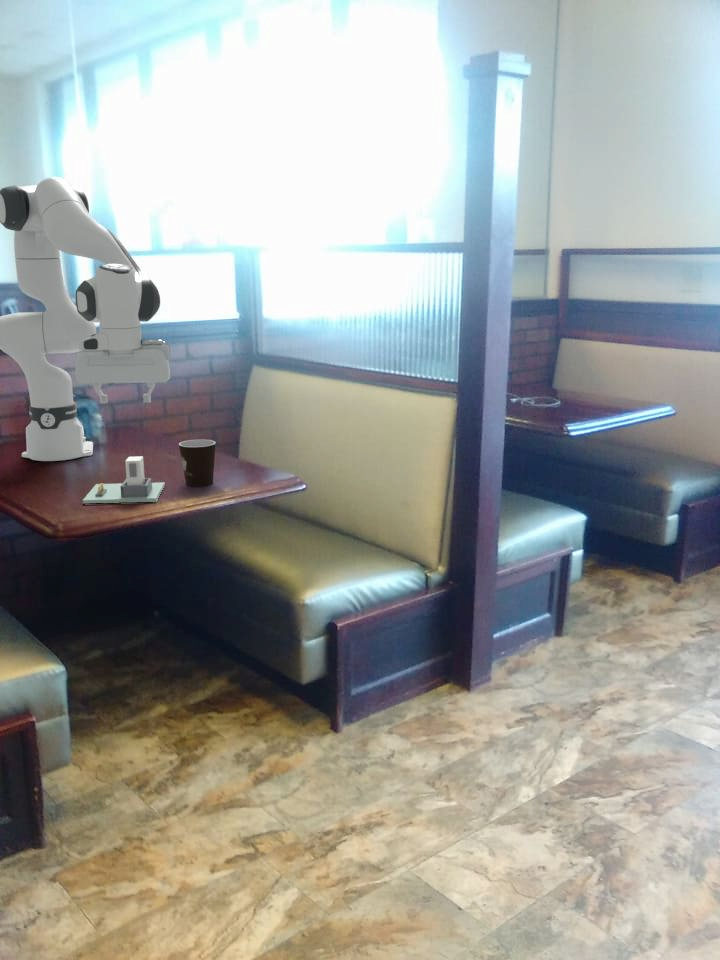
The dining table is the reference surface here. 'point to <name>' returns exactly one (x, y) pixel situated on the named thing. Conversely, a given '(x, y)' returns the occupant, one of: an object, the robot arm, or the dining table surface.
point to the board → (125, 492)
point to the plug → (135, 471)
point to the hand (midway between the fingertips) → (125, 402)
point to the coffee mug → (198, 462)
